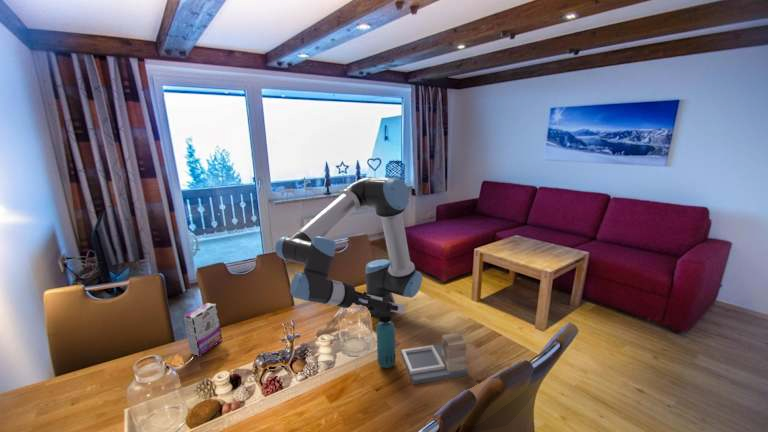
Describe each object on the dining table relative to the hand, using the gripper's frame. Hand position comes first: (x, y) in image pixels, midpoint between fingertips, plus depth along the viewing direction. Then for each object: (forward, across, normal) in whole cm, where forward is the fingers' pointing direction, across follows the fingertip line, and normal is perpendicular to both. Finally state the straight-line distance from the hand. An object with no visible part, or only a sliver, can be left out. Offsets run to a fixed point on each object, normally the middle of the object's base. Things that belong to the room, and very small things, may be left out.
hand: (392, 305), depth 116 cm
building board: (+18, +7, -16) cm, 25 cm away
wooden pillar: (+21, +13, -14) cm, 29 cm away
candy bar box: (-44, -52, -35) cm, 76 cm away
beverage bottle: (+5, -2, -21) cm, 22 cm away
